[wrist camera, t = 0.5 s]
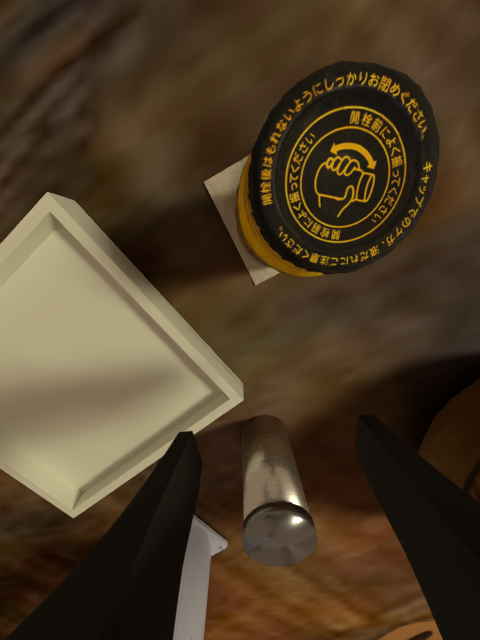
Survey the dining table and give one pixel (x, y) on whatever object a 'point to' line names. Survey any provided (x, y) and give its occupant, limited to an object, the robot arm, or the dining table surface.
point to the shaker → (273, 497)
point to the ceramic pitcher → (457, 440)
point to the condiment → (332, 174)
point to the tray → (92, 362)
